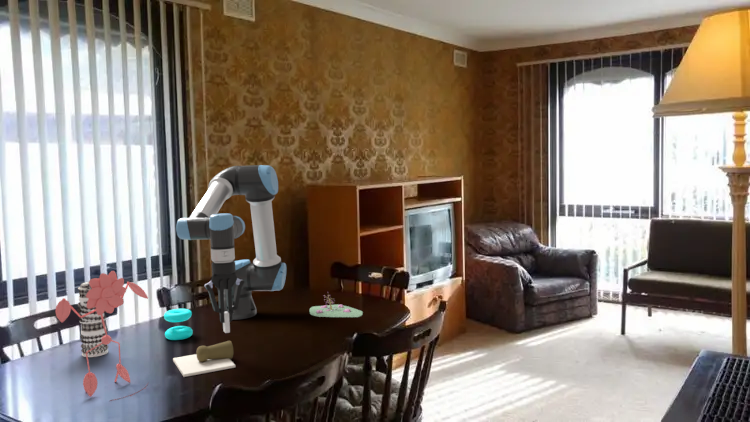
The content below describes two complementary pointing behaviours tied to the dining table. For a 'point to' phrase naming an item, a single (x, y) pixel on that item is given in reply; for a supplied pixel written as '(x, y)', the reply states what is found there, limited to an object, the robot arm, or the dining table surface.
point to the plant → (334, 310)
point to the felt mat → (201, 365)
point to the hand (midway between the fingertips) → (226, 331)
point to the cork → (215, 351)
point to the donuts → (178, 331)
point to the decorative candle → (90, 326)
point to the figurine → (105, 298)
